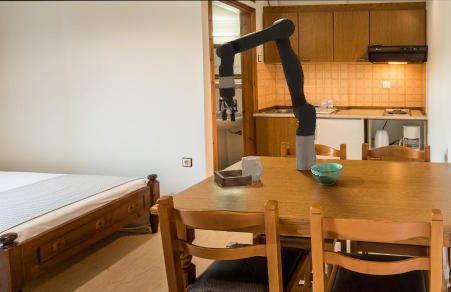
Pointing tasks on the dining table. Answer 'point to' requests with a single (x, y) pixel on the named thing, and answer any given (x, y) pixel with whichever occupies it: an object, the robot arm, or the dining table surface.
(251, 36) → the robot arm
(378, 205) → the dining table surface
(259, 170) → the mug
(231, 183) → the tray
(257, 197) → the dining table surface
